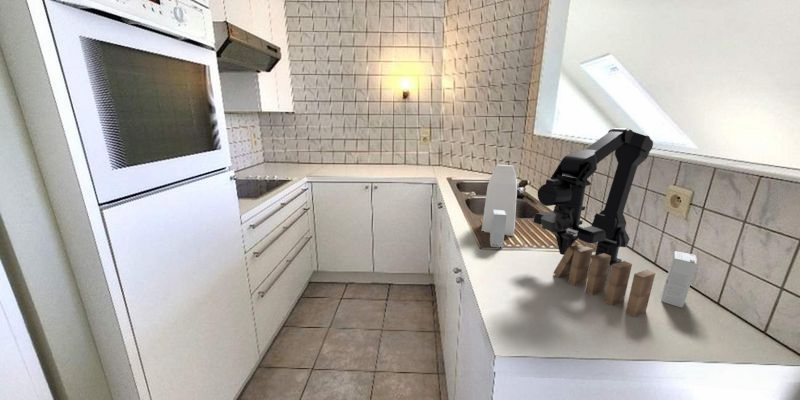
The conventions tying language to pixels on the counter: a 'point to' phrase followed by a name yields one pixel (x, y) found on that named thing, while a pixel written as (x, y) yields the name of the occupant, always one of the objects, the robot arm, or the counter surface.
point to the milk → (501, 197)
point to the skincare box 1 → (498, 228)
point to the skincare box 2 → (679, 278)
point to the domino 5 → (640, 292)
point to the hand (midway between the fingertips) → (562, 254)
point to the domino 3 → (598, 273)
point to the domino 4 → (617, 282)
